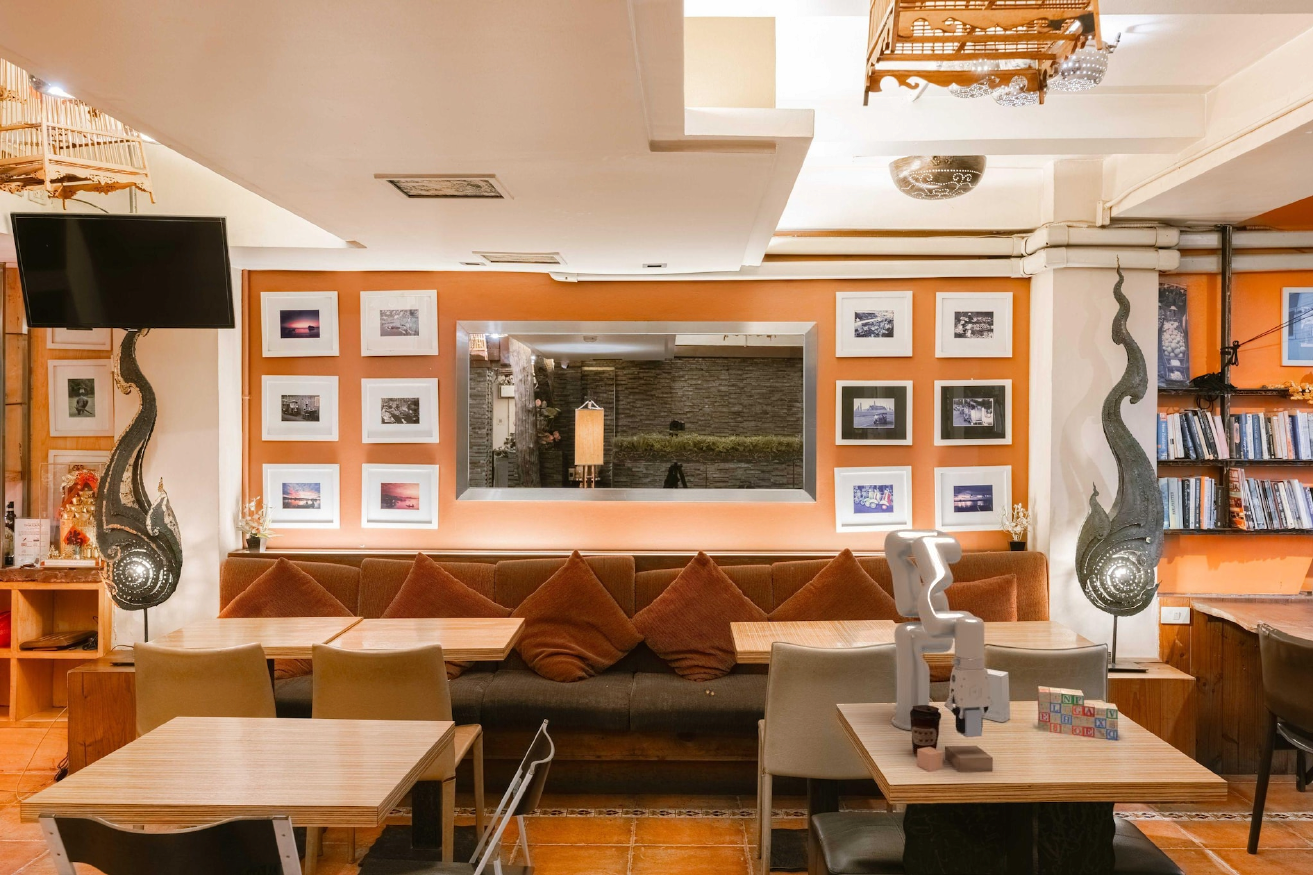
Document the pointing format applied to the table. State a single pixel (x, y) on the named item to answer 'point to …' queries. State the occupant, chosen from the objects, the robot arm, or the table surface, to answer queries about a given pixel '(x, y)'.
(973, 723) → the slate block
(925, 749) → the terracotta cube
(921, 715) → the coffee cup
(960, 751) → the plinth
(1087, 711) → the stack of blocks
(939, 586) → the robot arm
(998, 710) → the skincare box
